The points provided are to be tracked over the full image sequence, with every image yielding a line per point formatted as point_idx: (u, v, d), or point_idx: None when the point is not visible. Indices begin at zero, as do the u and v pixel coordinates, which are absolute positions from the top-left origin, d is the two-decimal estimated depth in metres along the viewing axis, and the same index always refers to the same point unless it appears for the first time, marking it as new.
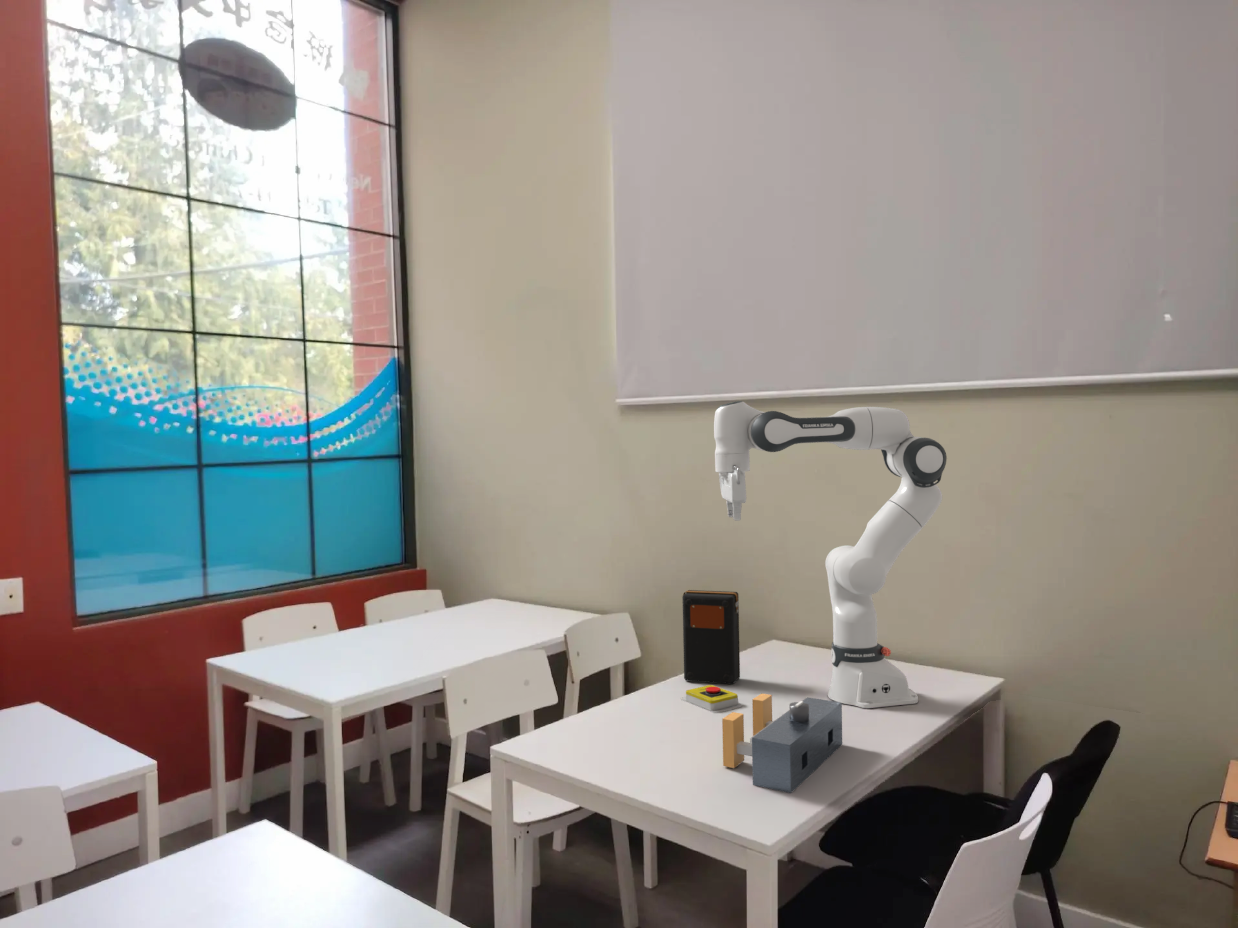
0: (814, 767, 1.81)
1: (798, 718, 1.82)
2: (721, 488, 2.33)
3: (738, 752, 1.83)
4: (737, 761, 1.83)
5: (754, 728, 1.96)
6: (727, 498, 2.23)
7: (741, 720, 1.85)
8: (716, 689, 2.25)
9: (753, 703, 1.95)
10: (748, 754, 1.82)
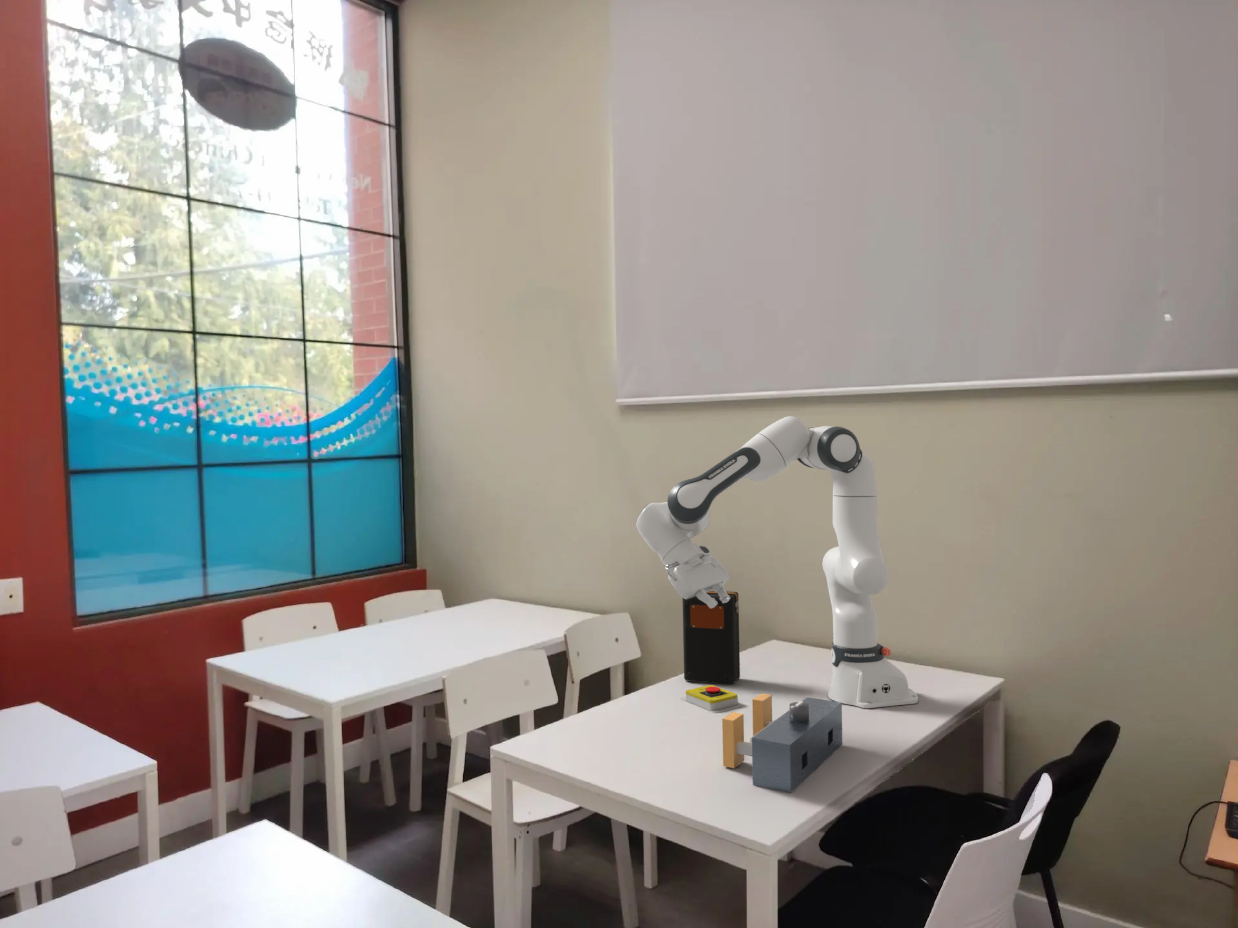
0: (814, 767, 1.81)
1: (798, 718, 1.82)
2: None
3: (738, 752, 1.83)
4: (737, 761, 1.83)
5: (754, 728, 1.96)
6: None
7: (741, 720, 1.85)
8: (716, 689, 2.25)
9: (753, 703, 1.95)
10: (748, 754, 1.82)
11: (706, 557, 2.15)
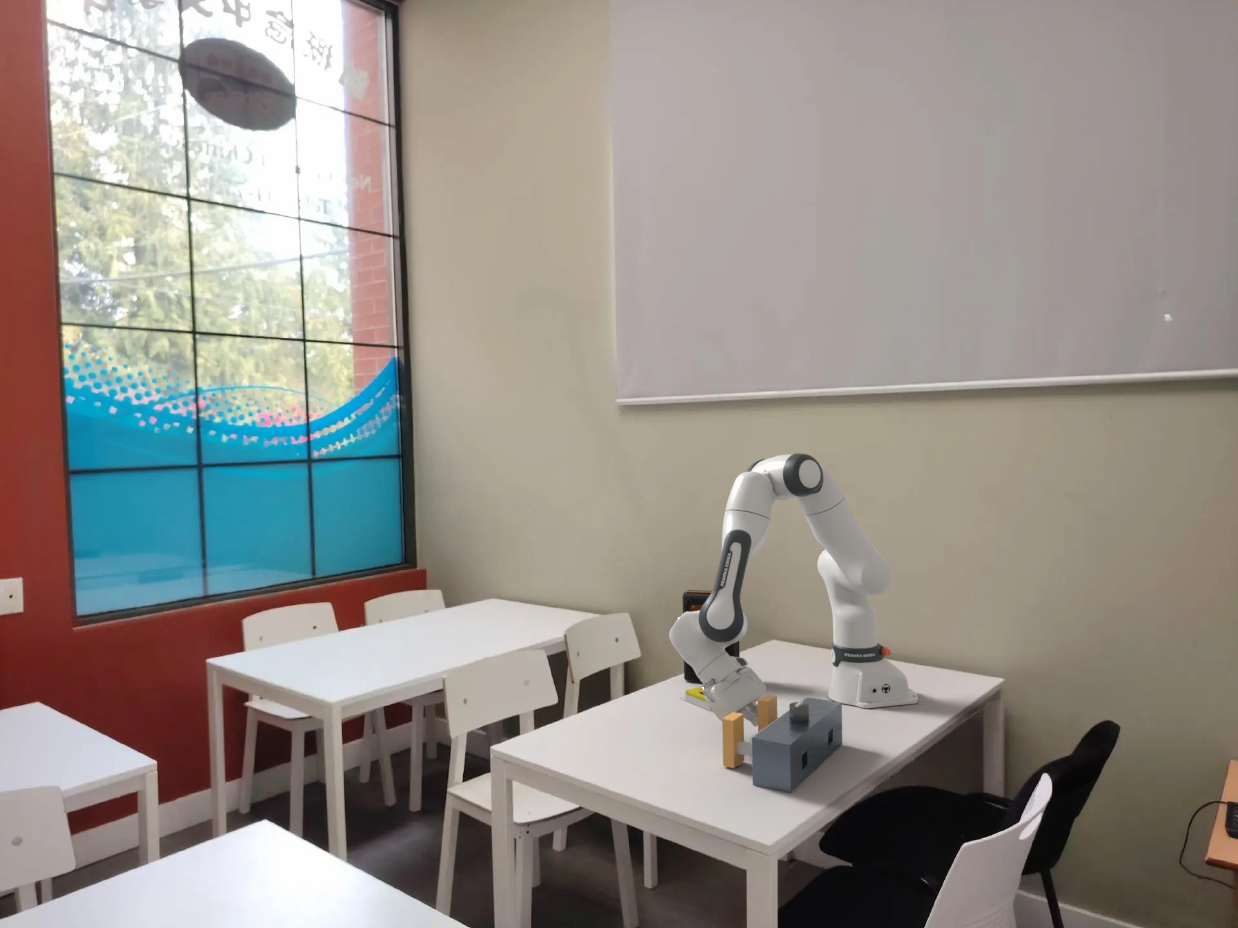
0: (814, 767, 1.81)
1: (798, 718, 1.82)
2: None
3: (738, 752, 1.83)
4: (737, 761, 1.83)
5: (759, 729, 1.95)
6: None
7: (741, 720, 1.85)
8: None
9: (758, 704, 1.95)
10: (748, 754, 1.82)
11: (743, 670, 2.04)
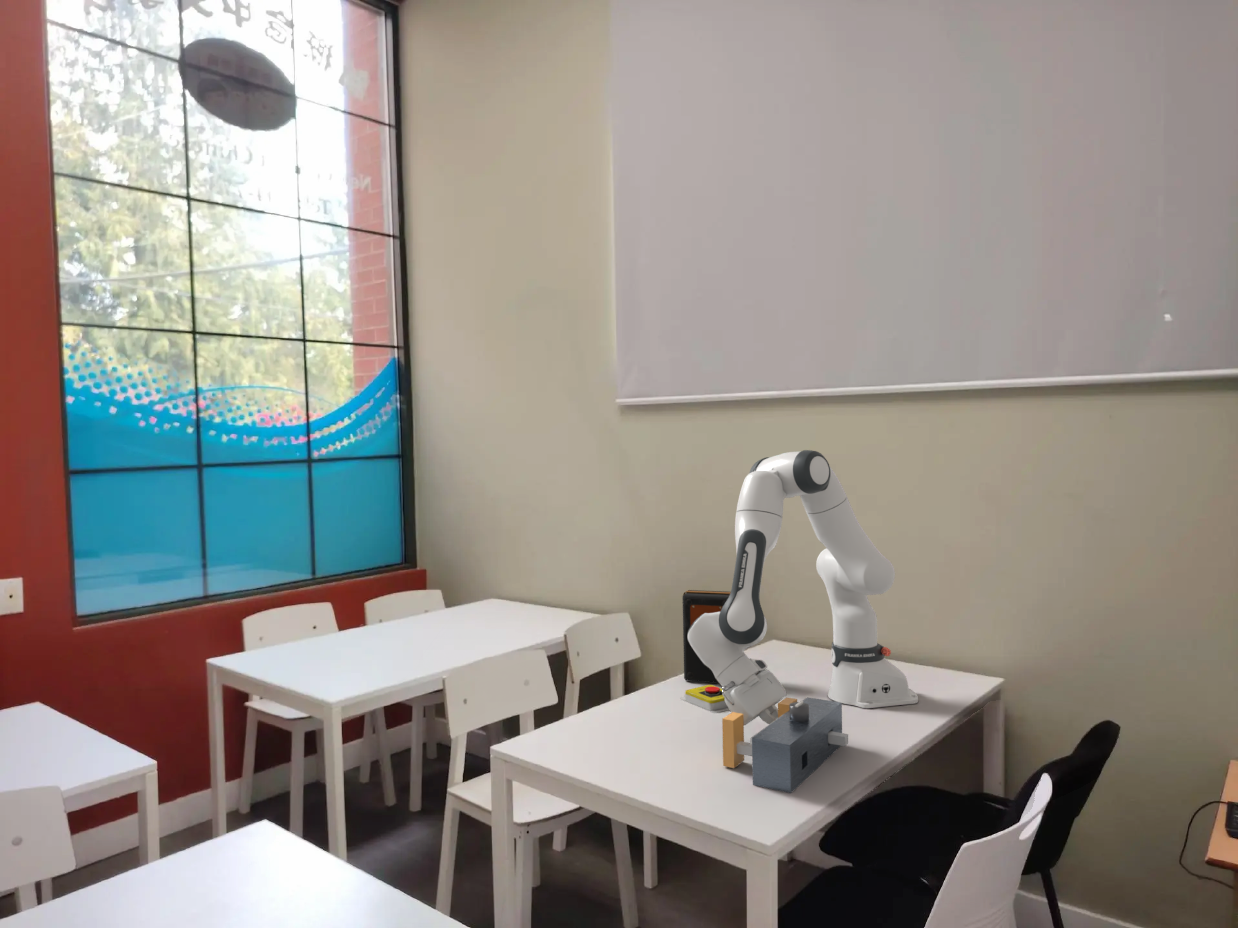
0: (814, 767, 1.81)
1: (798, 718, 1.82)
2: None
3: (738, 752, 1.83)
4: (737, 761, 1.83)
5: None
6: None
7: (741, 720, 1.85)
8: (715, 689, 2.26)
9: (778, 707, 1.92)
10: (748, 754, 1.82)
11: (762, 673, 2.02)
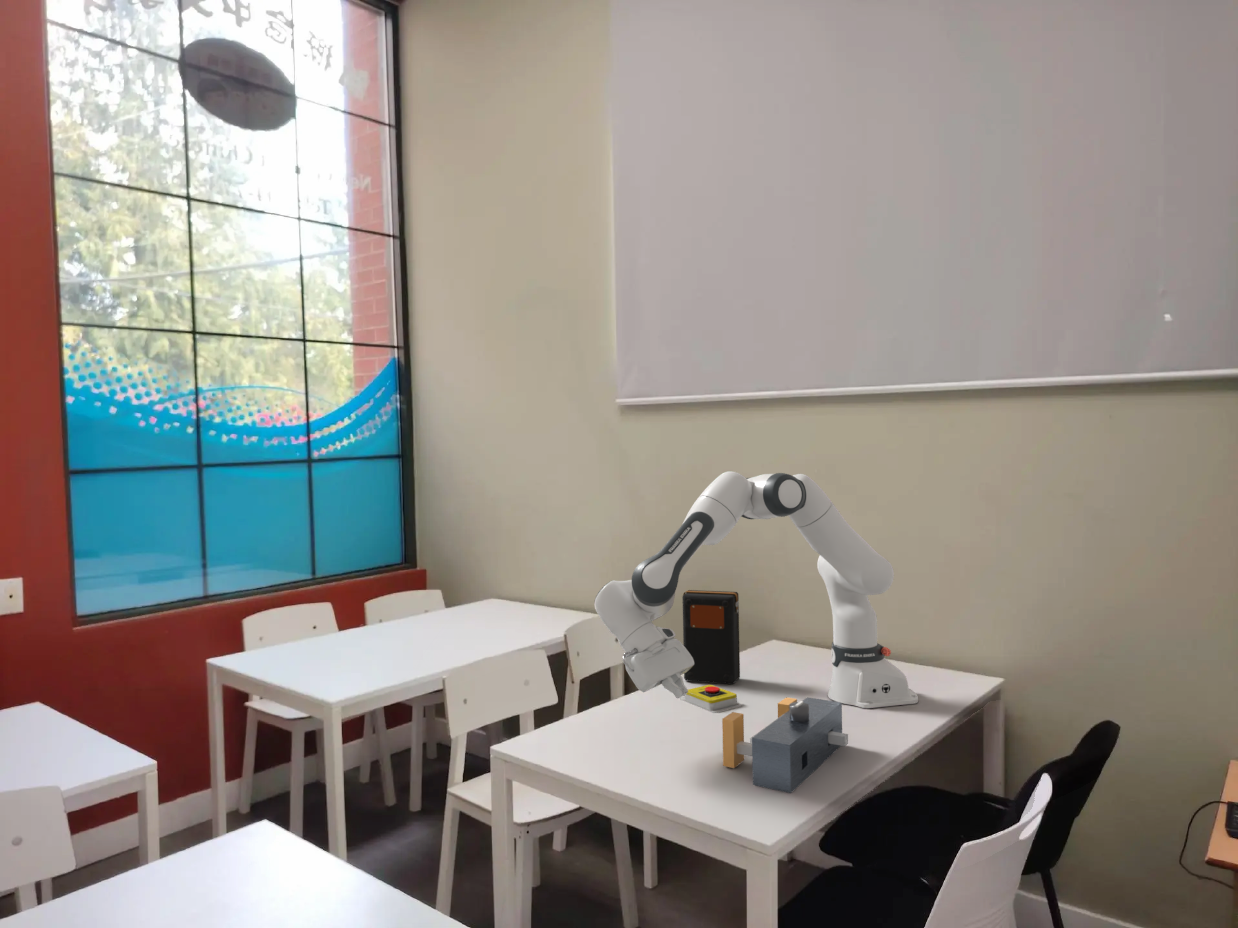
0: (814, 767, 1.81)
1: (798, 718, 1.82)
2: None
3: (738, 752, 1.83)
4: (737, 761, 1.83)
5: None
6: None
7: (741, 720, 1.85)
8: (715, 689, 2.26)
9: (778, 707, 1.92)
10: (748, 754, 1.82)
11: (669, 641, 1.98)
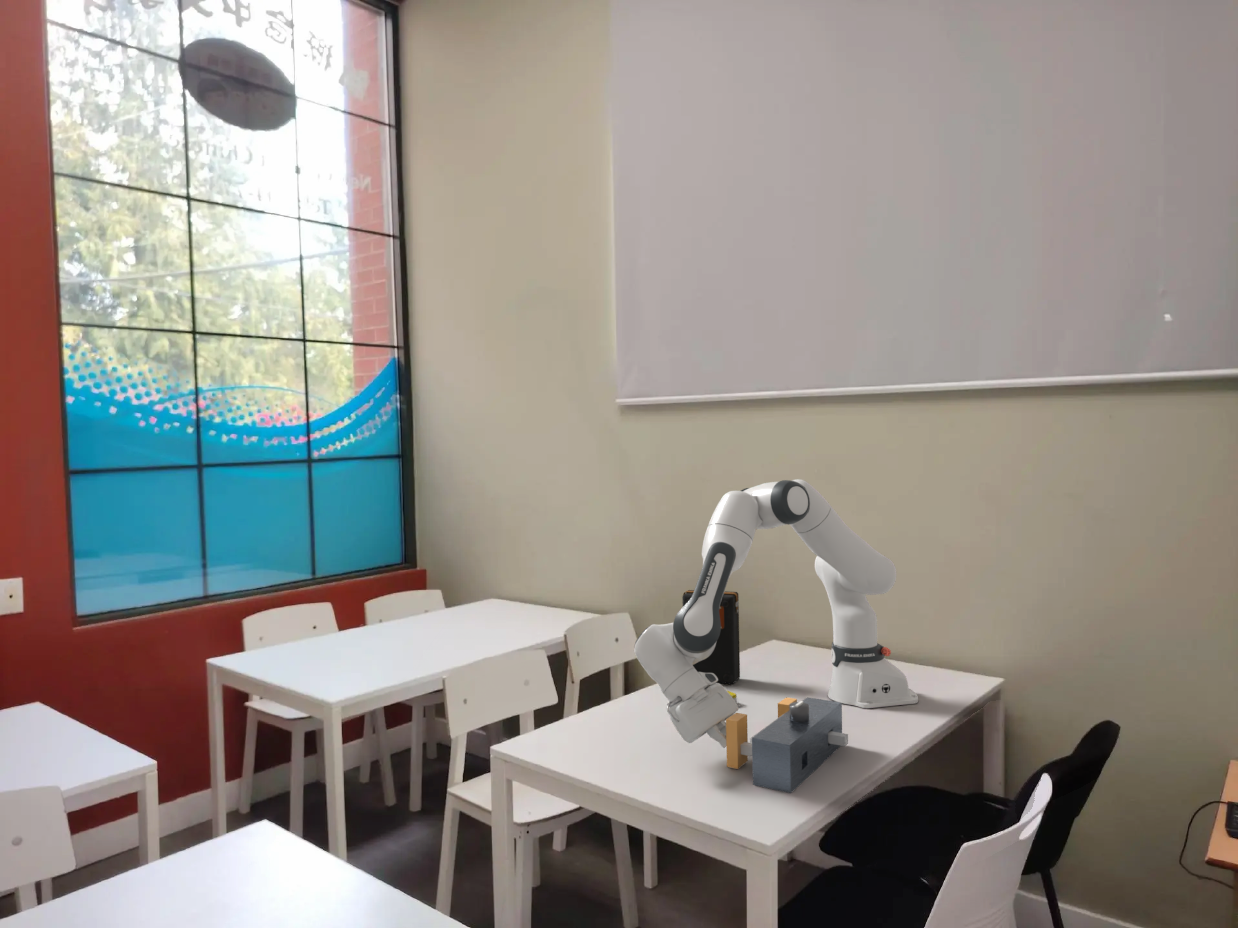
0: (814, 767, 1.81)
1: (798, 718, 1.82)
2: None
3: (742, 753, 1.83)
4: (740, 762, 1.83)
5: None
6: None
7: (745, 721, 1.85)
8: None
9: (778, 707, 1.92)
10: None
11: (712, 687, 1.92)
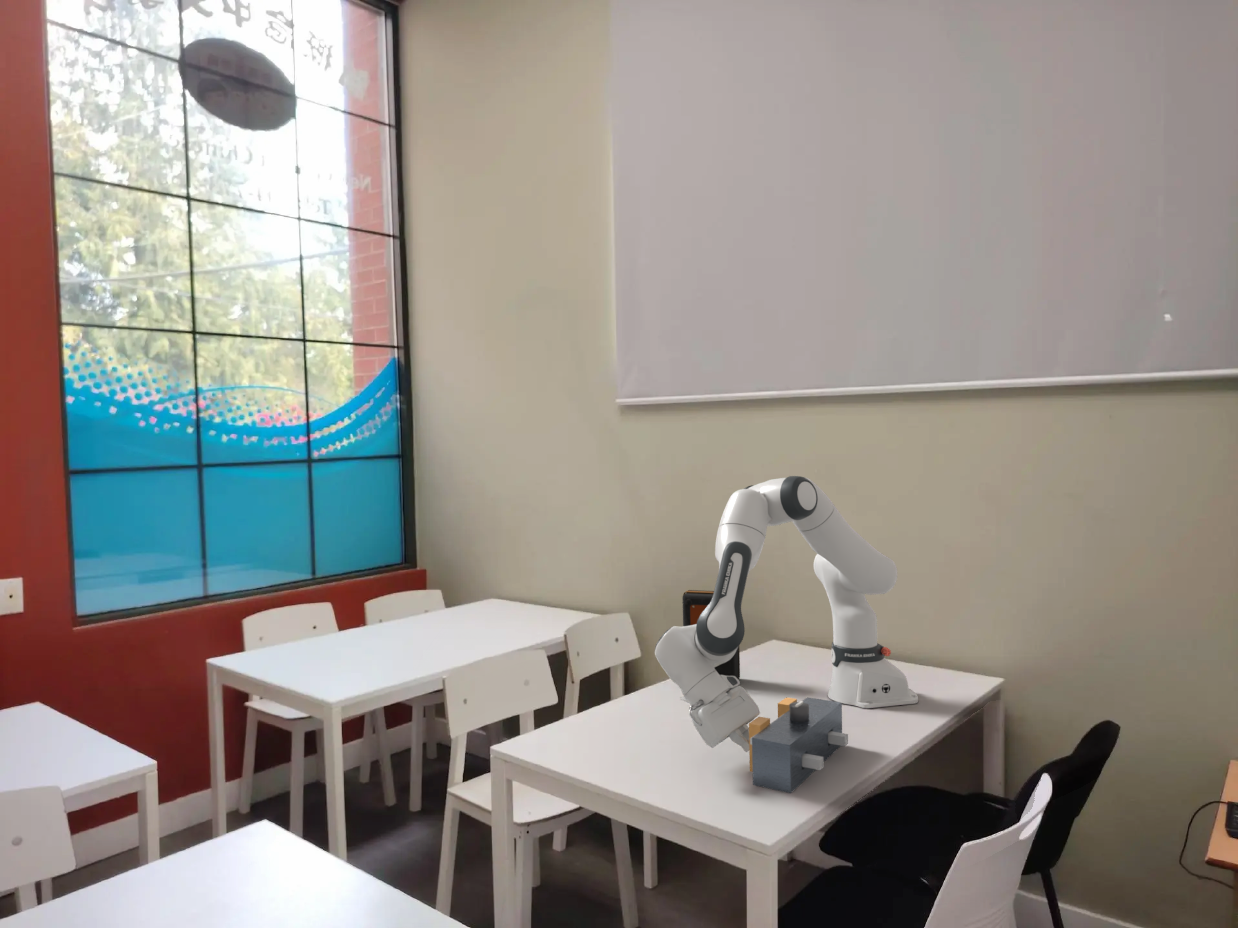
0: None
1: (798, 718, 1.82)
2: None
3: None
4: None
5: None
6: None
7: None
8: None
9: (778, 707, 1.92)
10: None
11: (734, 690, 1.89)
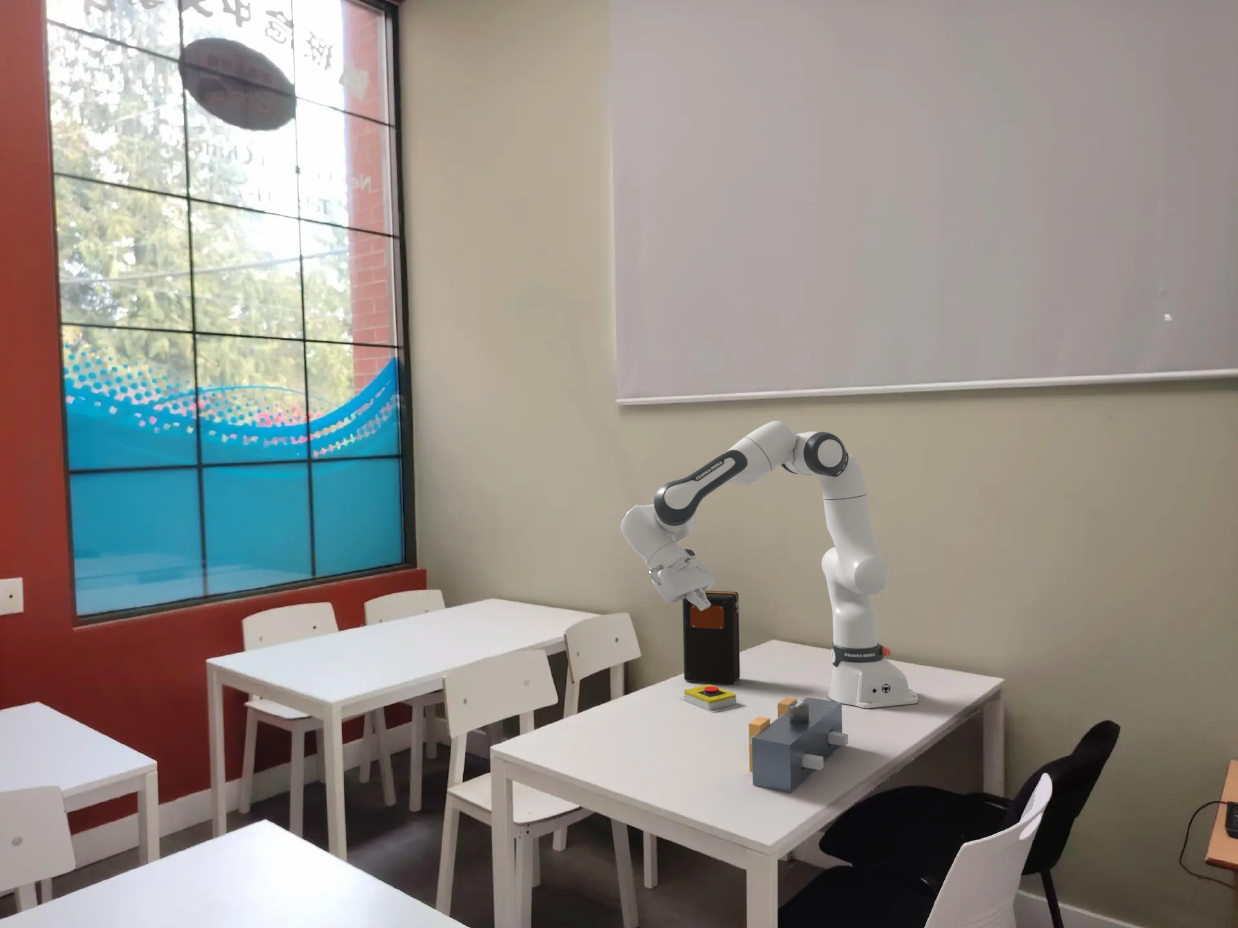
0: None
1: (798, 718, 1.82)
2: None
3: None
4: None
5: None
6: None
7: None
8: (714, 689, 2.26)
9: (778, 707, 1.92)
10: None
11: (691, 560, 2.10)
